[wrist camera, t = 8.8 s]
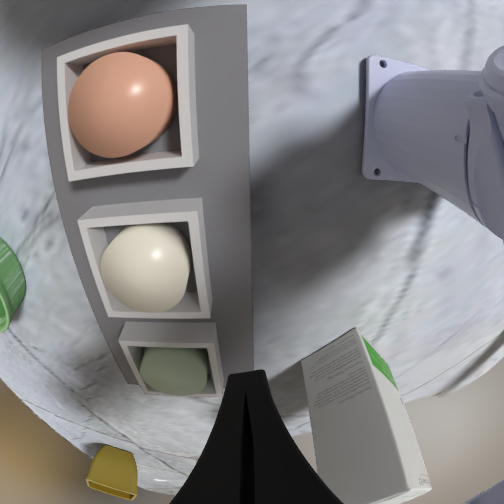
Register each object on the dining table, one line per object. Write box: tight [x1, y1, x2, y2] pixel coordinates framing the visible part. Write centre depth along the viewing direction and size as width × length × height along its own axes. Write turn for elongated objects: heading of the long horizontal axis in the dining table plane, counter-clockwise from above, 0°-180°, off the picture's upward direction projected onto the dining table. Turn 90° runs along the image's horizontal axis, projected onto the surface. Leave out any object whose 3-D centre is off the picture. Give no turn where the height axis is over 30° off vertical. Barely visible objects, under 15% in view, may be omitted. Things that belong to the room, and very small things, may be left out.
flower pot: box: [86, 445, 137, 500], centre depth 35 cm, size 9×9×9 cm
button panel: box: [42, 5, 254, 397], centre depth 17 cm, size 12×28×4 cm, turn 1°
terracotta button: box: [68, 52, 178, 158], centre depth 11 cm, size 5×5×2 cm
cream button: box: [100, 222, 192, 313], centre depth 16 cm, size 5×5×2 cm
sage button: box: [140, 347, 208, 396], centre depth 20 cm, size 5×5×2 cm
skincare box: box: [301, 328, 432, 504], centre depth 19 cm, size 8×7×16 cm
